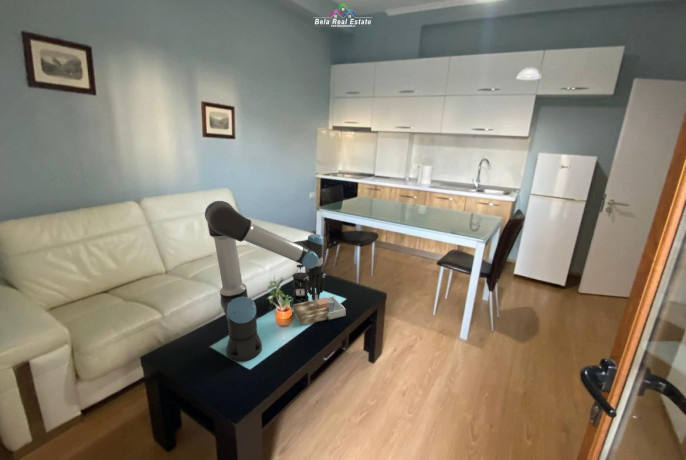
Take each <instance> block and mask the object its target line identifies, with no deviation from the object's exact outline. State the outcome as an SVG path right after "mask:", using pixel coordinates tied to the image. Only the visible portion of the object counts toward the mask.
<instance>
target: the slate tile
mask: <svg viewBox="0 0 686 460" xmlns="http://www.w3.org/2000/svg"><path fill="white" fill-rule="evenodd" d="M328 297H329V298H326V297H325V298H326V299H327V301H328V302H329V308H327V309H326V310H327V312H328V313H329V312H333V311H334V303H335V302H334V301H333V300H332V299H331V298H330V297H331V296H328Z"/></svg>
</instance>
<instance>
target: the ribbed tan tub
mask: <svg viewBox="0 0 686 460" xmlns="http://www.w3.org/2000/svg"><path fill="white" fill-rule="evenodd" d="M292 306H293V310H292V311H293V314H294V315H295V316H296V318H297V320H298V321H299V323H300V324H301V326H305V325H310V324H313V323H314V324H315V323H318V322H322V321H326V320H329V319H328V312H327V311H326V309H327V308H322V309H318V308H317V307H316V306H314V304H313V300H312V299H311V300H309V301H308V302H303V303H298V304H294V305H292Z"/></svg>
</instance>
